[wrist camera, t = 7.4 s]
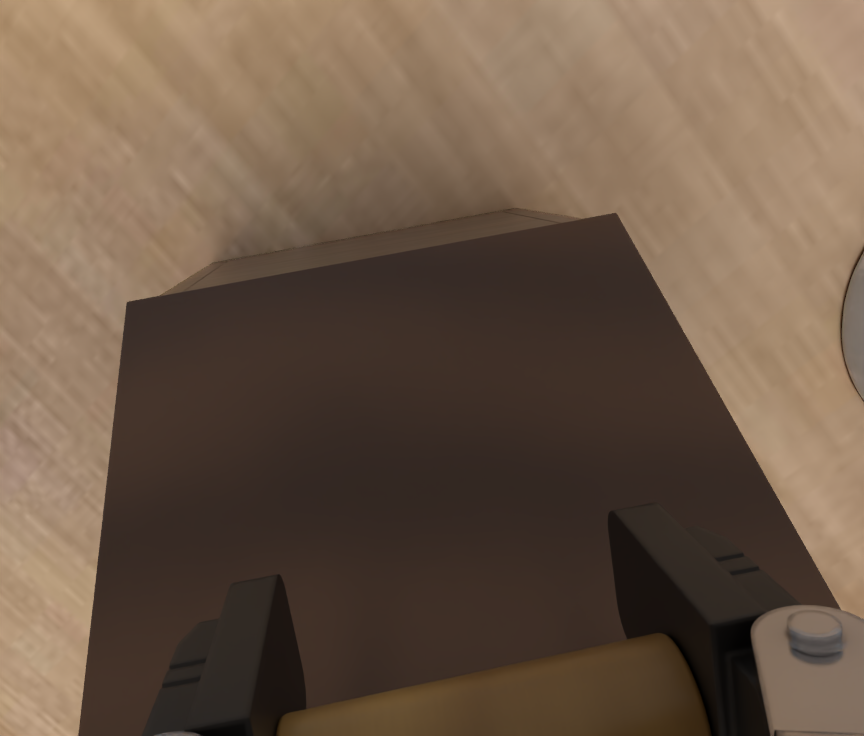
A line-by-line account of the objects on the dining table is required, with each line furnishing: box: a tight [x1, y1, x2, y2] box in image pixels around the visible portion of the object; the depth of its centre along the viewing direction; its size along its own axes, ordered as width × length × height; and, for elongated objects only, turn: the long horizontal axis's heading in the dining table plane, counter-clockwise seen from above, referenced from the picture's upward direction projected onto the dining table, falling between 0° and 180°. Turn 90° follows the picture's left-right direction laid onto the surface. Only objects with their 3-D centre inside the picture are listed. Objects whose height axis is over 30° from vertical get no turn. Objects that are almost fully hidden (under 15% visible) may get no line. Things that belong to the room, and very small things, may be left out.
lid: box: [79, 213, 841, 736], centre depth 15 cm, size 16×14×5 cm
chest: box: [160, 208, 580, 296], centre depth 31 cm, size 16×14×13 cm
